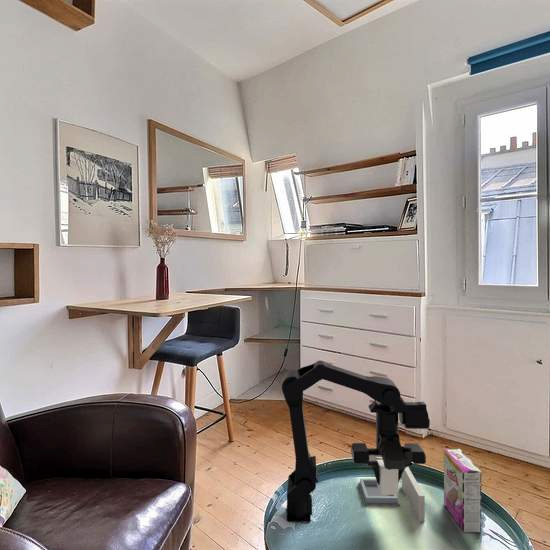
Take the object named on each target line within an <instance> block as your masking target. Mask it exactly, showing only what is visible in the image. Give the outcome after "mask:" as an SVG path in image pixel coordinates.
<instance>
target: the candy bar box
mask: <svg viewBox="0 0 550 550" xmlns="http://www.w3.org/2000/svg"><path fill="white" fill-rule="evenodd" d="M443 504H444V507H445V508H446V509H447V510H448V512H449V514H450V515H451V516H452V518H453V519H454V521H455V522H456V524H457V525H458V526H459V528H460V530H461V531H462V532H463V533H465V534H467V533H468V534H469V533H470V534H471V533H472V534H473V533H482V471H481V469H479V467H477V466H476V465H475V463H474V462H473V461H472V459H470V458H469V457H468V456H467V455H466V454H465V453H464V451H462V449H461V448H450V449H449V448H445V449H443Z"/></svg>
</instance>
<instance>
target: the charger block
mask: <svg viewBox="0 0 550 550" xmlns="http://www.w3.org/2000/svg"><path fill="white" fill-rule="evenodd" d="M376 460H377V462H378V464H379V466H378V470H379V479H380V482H379V485H378V483H377V486H378V488H379V491H380V493H381V495H397V496H399V483H398V469H391V470H388V469H386V468H385V466H384V462H383V459H376Z"/></svg>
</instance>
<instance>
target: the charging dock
mask: <svg viewBox="0 0 550 550" xmlns="http://www.w3.org/2000/svg"><path fill="white" fill-rule="evenodd" d="M358 488H359V491H360V494H361V498H362V500H363V504H364V506H377V507H383V506H385V507H401V503H400V501H399V498H398V495H381V493H380V491H379V488H378V486H377V481H376V478H359V482H358Z"/></svg>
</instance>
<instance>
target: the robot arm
mask: <svg viewBox="0 0 550 550" xmlns="http://www.w3.org/2000/svg"><path fill="white" fill-rule="evenodd" d="M321 381H327V382H330V383H333V384H336V385H338V386H339V385H340V386H343V387H345V388H347V389H351V390H354V391H358V392H359V393H360V392H361V393H362V394H365V395H367V396H368V397H370V399H372V400H373V401H372V402H371V403H370V404H368V409H369V411H370V413H375V423H376V424H375V431H376V432H375V434H376V435H375V447H376V448H373V447H372V448H371V447H369V448H368V447H367V445H366V443H365V442H353V443H352V444H351V445H350V454H351V457H352V460H353V463H355V464H366V465H367V466H369V467H371V469H372V471H373V474H374V477H375V479H376V481H377V483H378V485H379V482H380V479H379V470H378V466H379V464H378V462H377V460H378V459H377V457H379V458H380V457H381V458H382V460H383V462H384V466H385V468H386V469H388V470H391V469H398V484H399V483H400V480H401V479H402V473H403V471H404V469H405V468H406V467H412V466H413V464H414V465H425V464H426V463H427V456H426V453H425V451H424V450H423V448H422V447H421V445H419V443H414V442H413V443H412V442H411V443H404V445H403V446H402V445H401V442H400V441H401V440H400V434H399V424H400V425H403V426H404V427H403V428H405V429H407V430H410V429H411V430H415V429H416V430H419V429H420V430H428V429H429V428H430V424H431V420H430V417H429V413H428V410H427V404H426V403H425V402H424V401H417V402H416V401H413V402H411V401H404V399H403V397H402V396H401V392H400V389H399V388H398V386H397V385H396V384H395V382H394V381H393V380H392V379H390V378H388V377H382V376H376V375H375V376H367V375H363V374H360V373H357V372H353V371H350V370H347V369H344V368H341V367H339V366H336V365H333V364H330V363H326V362H325V361H324V360H317V361H316V362H314V363H312V364H308V365H305V366H302V367H300V368H298V369H297V370H296V369H290V370H288V371H286V372H285V374H284V375H283V378H282V383H281V390H282V391H281V392H282V394H283V398H284V401H285V403H286V405H287V407H288V411H289V417H290V425H291V432H292V434H291V435H292V439H293V449H294V455H295V463H294V464H295V467H294V470H293V471H292V472H291V473H290V474H289V475H288V477H287V488H286V522H289V523H291V522H292V523H311V521H312V518H311V516H313V497H312V494H311V493H313V492H314V491H315V490H316V489H317V488H316V487H317V484H319V474H318V473H319V472H318V471H319V469H318V467H317V457H316V455H312V456H311V454H310V451H309V444H308V443H309V442H308V437H307V435H308V434H307V429H306V428H307V427H306V421H305V413H304V406H303V405H304V404H303V403H304V402H303V401H304V400H303V399H304V391H306V390H308V389H309V388H311V387H312V386H314V385H315V384H316V383H318V382H321Z"/></svg>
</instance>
